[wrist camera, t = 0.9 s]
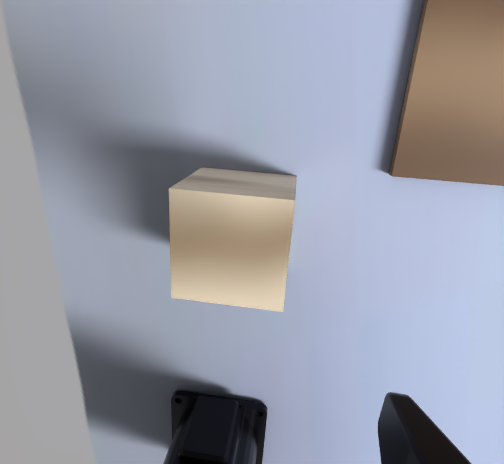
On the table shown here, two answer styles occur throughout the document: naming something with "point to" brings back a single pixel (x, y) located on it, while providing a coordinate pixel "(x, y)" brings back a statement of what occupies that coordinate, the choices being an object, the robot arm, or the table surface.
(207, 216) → the maple cube
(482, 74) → the walnut board
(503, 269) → the table surface
